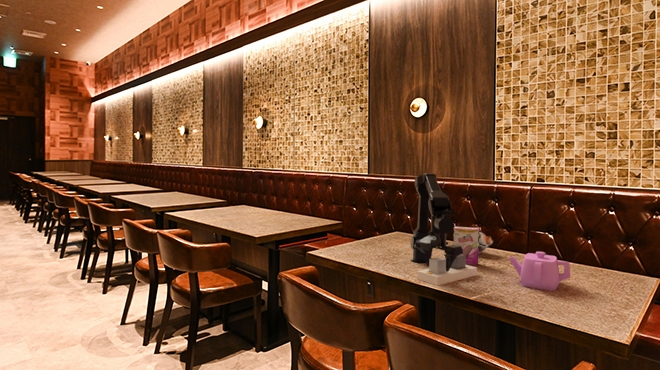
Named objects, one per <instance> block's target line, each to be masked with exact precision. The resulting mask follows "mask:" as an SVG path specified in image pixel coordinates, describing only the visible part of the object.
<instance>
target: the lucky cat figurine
mask: <svg viewBox="0 0 660 370" xmlns="http://www.w3.org/2000/svg"><path fill="white" fill-rule="evenodd" d="M493 242H494V240H493V239H492V237H491V236H490V235H489V236H487V235H486V234H485V233H483V232H482V231H481V232H480V231H479V254H481V253H482V252H484V251H485V250H486V249H487V248H489V247H490V246H491V245H492V244H493Z"/></svg>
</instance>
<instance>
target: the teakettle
mask: <svg viewBox="0 0 660 370" xmlns="http://www.w3.org/2000/svg"><path fill="white" fill-rule="evenodd" d="M508 260H509V262H510V263H511V264H512V266H513V268H514V269H515V271H516V272H517V274H518V276H520V278H519V279H520V284H521V286H522V287H526V288H532V289H537V290H544V291H545V290H546V291H551V292H553V291H554V292H555V291H556V290H557V289H558V287H559V285H560V282H562V281H566V280H569V279H570V278H571V267H570V262H569V261H566V260H559V259H558V258H557V256H555V255H549V254H546V252H544V251H536V252H535V253H532V252H531V253H530V252H528V253H526V254H525V255H524V257H523V259H522V264H521V263H520V262H519V261H518V260H517V259H516V258H515V256H508ZM559 266H563V272H562V273H560V268H559Z"/></svg>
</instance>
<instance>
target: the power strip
mask: <svg viewBox="0 0 660 370" xmlns="http://www.w3.org/2000/svg"><path fill="white" fill-rule="evenodd" d="M475 276H478V267H476V266H472V265H470V264H465V268H464V269H459V270H457V269H453V268H450V270H449V271H448V272H447V271H446V273H443V274H438V275H437V274H434V273H431V272H429V268H426V269H420V270H417V272H416V279H417V280H420V281H422V282H426V283H429V284H432V285H436V286H441V285H444V284H448V283H452V282H457V281H459V280H463V279H467V278H471V277H475Z"/></svg>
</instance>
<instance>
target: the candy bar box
mask: <svg viewBox="0 0 660 370" xmlns="http://www.w3.org/2000/svg"><path fill="white" fill-rule="evenodd" d="M452 232H453V233H452V234H453V235H452V236H453V237H452V238H453V239H452V245H457V246H461V247H462V248H463V255H466V263H465V265H471V266H472V265H474V266H478V265H479V255H480V253H479V232H480V228H479V227H466V226H454V229H453V231H452Z"/></svg>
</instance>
